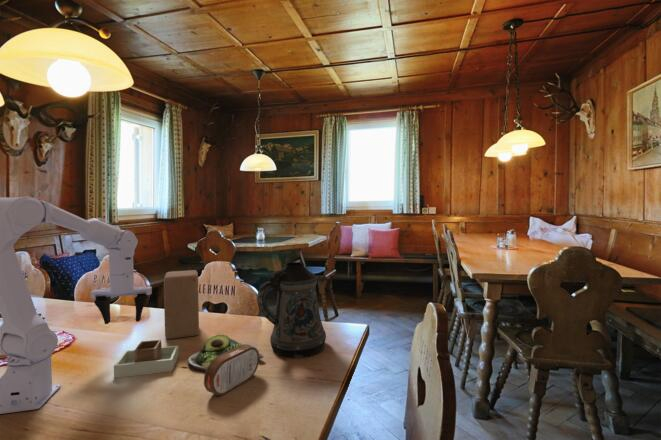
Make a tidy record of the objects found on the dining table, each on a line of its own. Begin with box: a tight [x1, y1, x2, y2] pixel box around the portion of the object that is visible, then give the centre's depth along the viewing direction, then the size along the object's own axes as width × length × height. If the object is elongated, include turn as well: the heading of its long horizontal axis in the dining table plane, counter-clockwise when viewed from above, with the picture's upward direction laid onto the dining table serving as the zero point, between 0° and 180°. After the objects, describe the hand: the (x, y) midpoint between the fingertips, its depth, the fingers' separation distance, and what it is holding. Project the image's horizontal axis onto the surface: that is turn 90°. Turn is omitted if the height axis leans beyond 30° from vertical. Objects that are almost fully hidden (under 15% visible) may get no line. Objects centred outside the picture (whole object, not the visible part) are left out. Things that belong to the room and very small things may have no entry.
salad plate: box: [187, 334, 264, 372], centre depth 95 cm, size 19×18×5 cm
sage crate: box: [113, 345, 179, 379], centre depth 91 cm, size 9×13×3 cm
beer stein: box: [256, 262, 327, 360], centre depth 101 cm, size 16×19×25 cm
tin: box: [203, 343, 260, 396], centre depth 81 cm, size 15×3×8 cm, turn 149°
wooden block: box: [163, 269, 200, 340], centre depth 114 cm, size 10×10×20 cm
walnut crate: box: [133, 339, 163, 363], centre depth 91 cm, size 6×5×5 cm
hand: (123, 321), depth 96 cm, fingers open, 7 cm apart
